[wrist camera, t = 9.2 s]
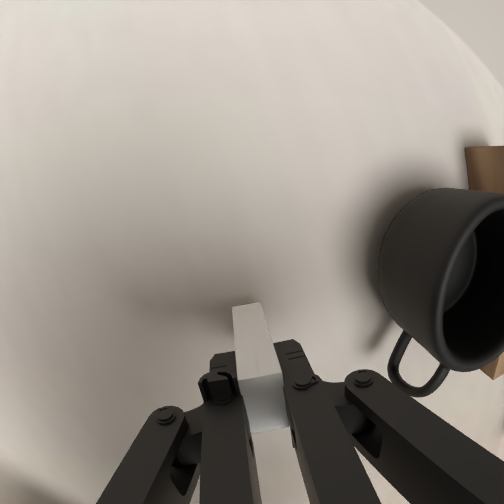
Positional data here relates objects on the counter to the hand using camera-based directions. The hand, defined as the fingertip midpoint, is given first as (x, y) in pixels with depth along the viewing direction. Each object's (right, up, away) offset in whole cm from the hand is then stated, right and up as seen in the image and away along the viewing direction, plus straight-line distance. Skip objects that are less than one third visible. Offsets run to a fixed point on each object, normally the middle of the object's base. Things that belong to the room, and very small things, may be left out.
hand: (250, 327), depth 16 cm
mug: (+11, +2, +2) cm, 11 cm away
